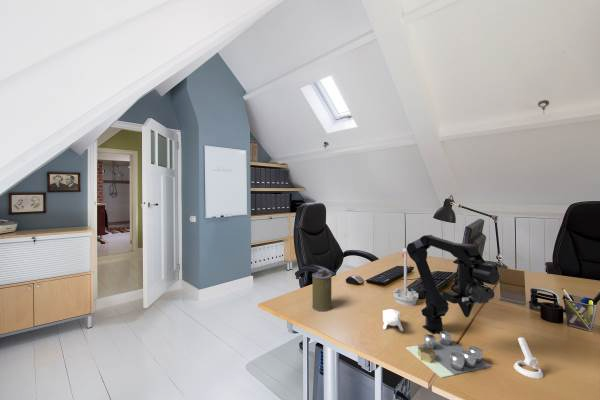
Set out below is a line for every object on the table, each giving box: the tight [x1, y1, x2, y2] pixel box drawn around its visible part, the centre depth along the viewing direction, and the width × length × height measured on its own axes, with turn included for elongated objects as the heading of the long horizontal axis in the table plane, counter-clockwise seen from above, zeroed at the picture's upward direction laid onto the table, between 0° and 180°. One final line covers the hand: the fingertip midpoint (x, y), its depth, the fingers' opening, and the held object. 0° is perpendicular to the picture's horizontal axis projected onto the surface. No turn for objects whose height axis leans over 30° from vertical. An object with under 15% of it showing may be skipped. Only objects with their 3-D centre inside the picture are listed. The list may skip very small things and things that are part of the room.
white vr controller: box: [513, 336, 544, 379], centre depth 94 cm, size 8×12×7 cm
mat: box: [405, 339, 492, 379], centre depth 100 cm, size 18×21×1 cm
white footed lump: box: [382, 308, 404, 332], centre depth 122 cm, size 8×8×15 cm
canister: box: [311, 268, 333, 312], centre depth 144 cm, size 11×10×20 cm
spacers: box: [423, 330, 483, 371], centre depth 101 cm, size 18×14×4 cm
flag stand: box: [392, 247, 419, 307], centre depth 151 cm, size 13×13×30 cm
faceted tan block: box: [418, 346, 435, 363], centre depth 99 cm, size 5×6×3 cm
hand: (466, 316), depth 106 cm, fingers closed
